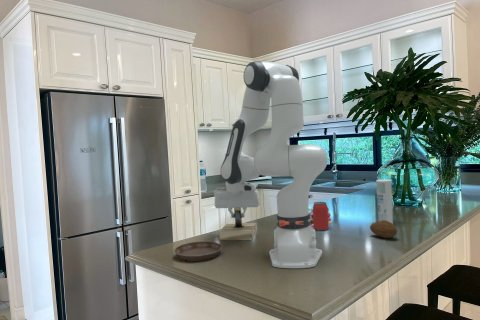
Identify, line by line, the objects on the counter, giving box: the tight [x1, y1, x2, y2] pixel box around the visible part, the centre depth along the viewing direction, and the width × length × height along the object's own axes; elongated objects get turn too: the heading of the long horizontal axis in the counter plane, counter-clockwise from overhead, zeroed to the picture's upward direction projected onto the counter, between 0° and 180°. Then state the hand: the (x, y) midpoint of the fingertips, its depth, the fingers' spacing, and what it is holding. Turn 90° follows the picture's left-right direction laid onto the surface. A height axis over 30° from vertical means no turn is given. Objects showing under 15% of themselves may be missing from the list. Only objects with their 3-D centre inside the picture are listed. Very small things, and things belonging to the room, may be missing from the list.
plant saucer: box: [174, 241, 223, 262], centre depth 135 cm, size 18×18×3 cm
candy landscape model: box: [308, 205, 333, 228], centre depth 178 cm, size 25×24×9 cm
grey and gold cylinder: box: [233, 208, 243, 228], centre depth 159 cm, size 3×3×9 cm
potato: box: [369, 220, 398, 239], centre depth 142 cm, size 7×12×7 cm, turn 36°
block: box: [218, 222, 258, 241], centre depth 159 cm, size 14×14×4 cm
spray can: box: [375, 179, 394, 225], centre depth 163 cm, size 6×6×20 cm
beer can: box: [312, 201, 330, 231], centre depth 161 cm, size 7×7×12 cm
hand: (238, 217), depth 159 cm, fingers closed on grey and gold cylinder, 3 cm apart
